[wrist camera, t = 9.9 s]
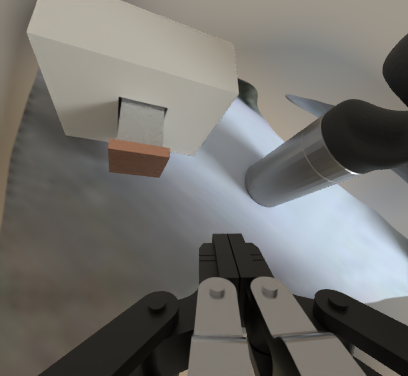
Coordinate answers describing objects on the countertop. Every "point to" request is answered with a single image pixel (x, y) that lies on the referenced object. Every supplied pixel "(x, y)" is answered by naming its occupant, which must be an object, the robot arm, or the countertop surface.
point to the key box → (131, 69)
